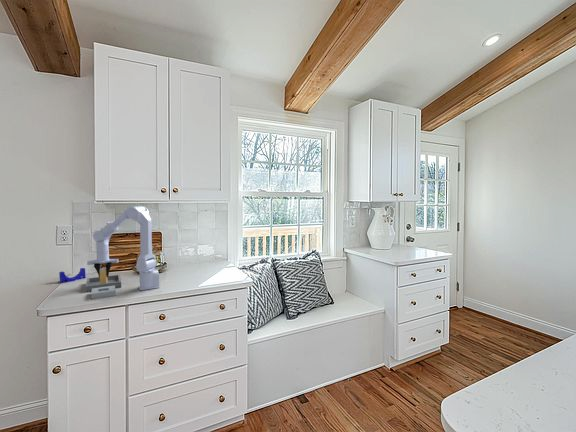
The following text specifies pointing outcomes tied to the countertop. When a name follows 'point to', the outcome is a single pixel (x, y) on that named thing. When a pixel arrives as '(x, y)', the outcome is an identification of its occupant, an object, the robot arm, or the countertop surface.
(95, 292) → the fuse holder
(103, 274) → the fuse
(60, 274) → the cable clip
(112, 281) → the tray
